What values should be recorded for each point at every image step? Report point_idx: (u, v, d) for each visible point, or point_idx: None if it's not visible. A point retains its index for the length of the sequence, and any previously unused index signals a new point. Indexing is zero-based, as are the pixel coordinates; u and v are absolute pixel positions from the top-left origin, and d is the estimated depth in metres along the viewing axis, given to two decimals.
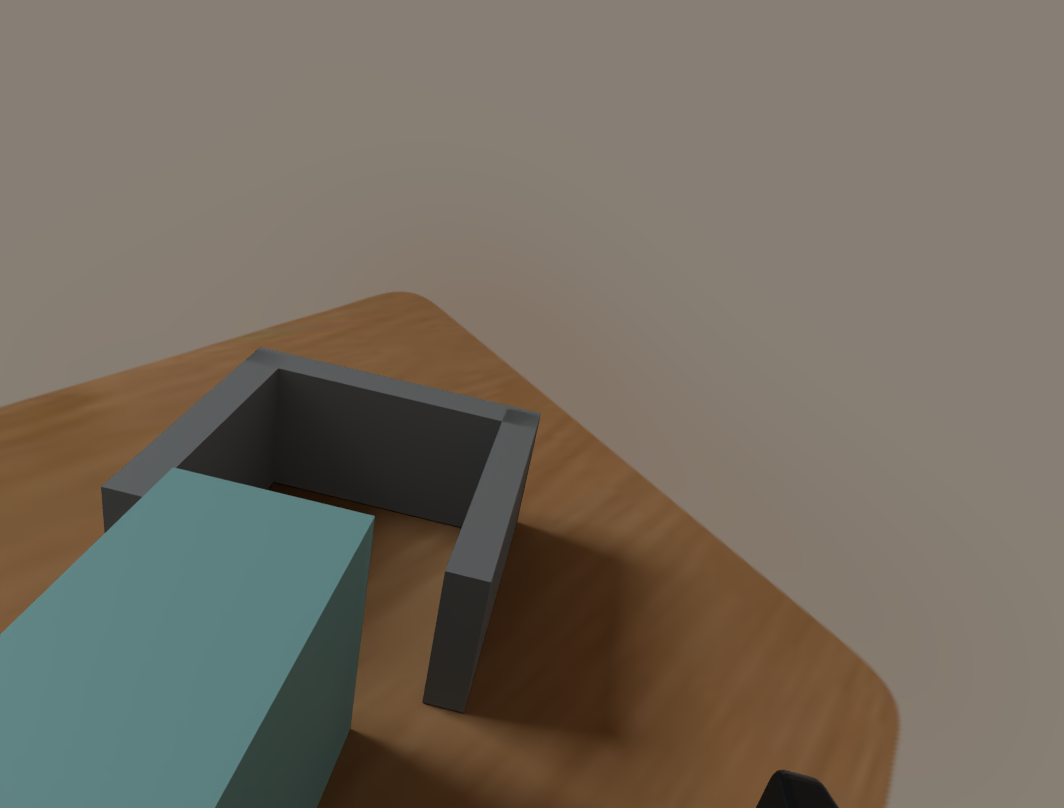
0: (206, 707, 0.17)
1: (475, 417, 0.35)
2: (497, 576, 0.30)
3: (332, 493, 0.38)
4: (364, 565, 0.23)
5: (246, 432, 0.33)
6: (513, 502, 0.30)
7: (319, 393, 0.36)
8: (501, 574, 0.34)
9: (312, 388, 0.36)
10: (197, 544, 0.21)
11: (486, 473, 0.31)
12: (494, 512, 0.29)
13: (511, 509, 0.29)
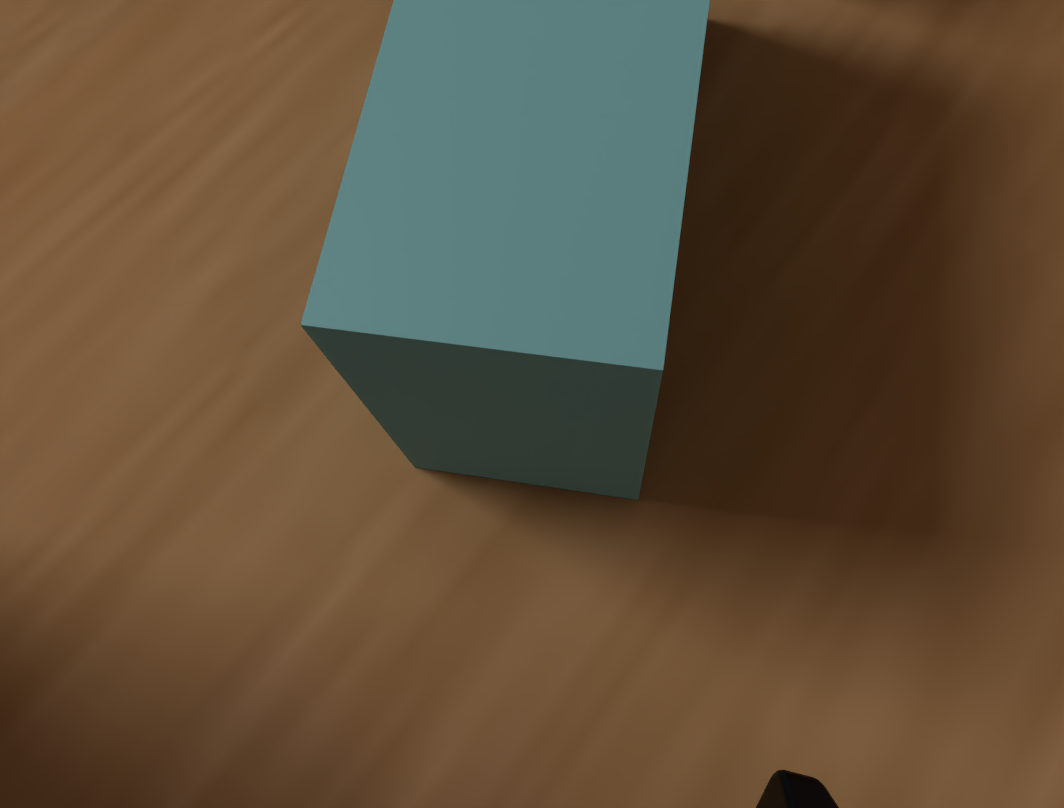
0: None
1: None
2: None
3: None
4: None
5: None
6: None
7: None
8: None
9: None
10: None
11: None
12: None
13: None
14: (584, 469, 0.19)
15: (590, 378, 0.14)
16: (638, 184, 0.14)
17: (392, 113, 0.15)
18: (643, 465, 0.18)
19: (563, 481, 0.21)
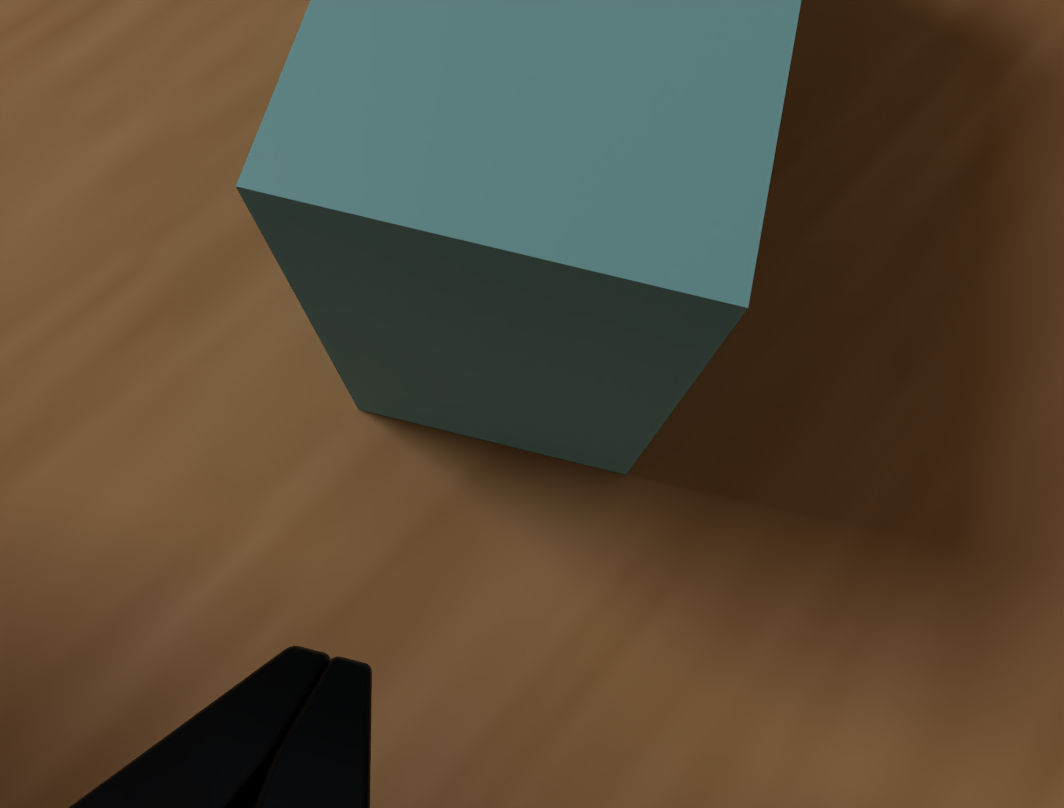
0: None
1: None
2: None
3: None
4: None
5: None
6: None
7: None
8: None
9: None
10: None
11: None
12: None
13: None
14: (574, 432, 0.16)
15: (637, 310, 0.10)
16: (726, 53, 0.10)
17: None
18: (653, 434, 0.14)
19: (541, 444, 0.17)
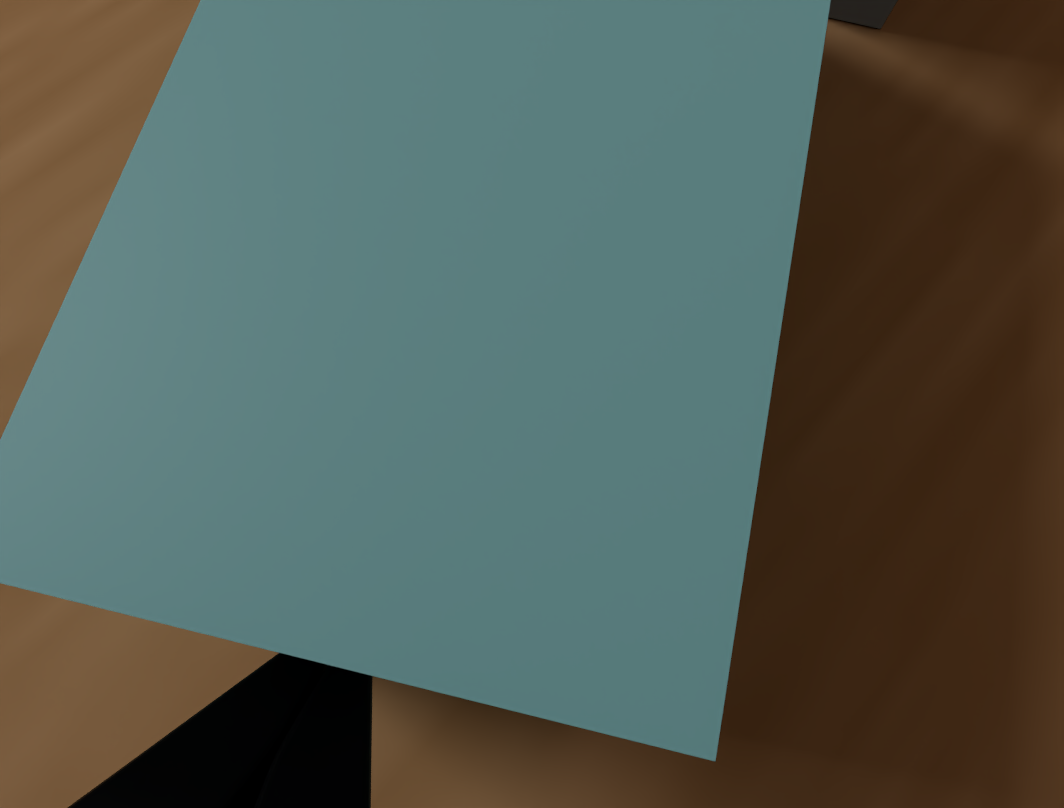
0: None
1: None
2: None
3: None
4: None
5: None
6: None
7: None
8: None
9: None
10: None
11: None
12: None
13: None
14: None
15: None
16: (685, 326, 0.07)
17: (213, 116, 0.08)
18: None
19: None
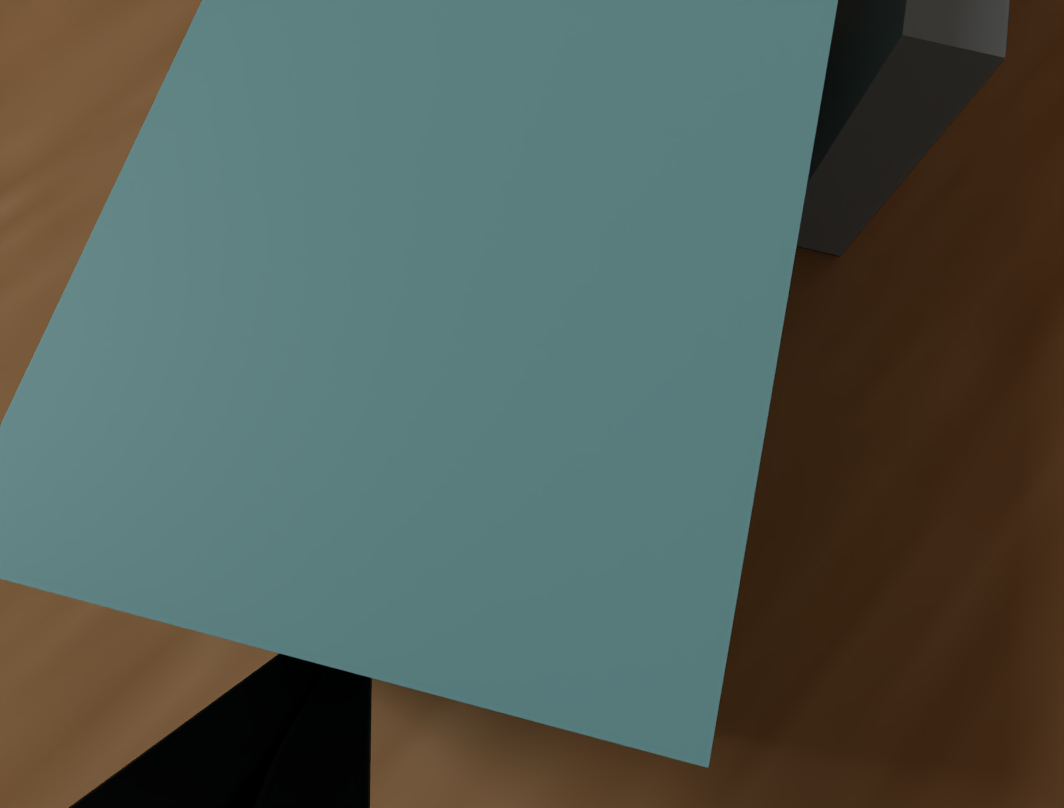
0: None
1: None
2: None
3: None
4: None
5: None
6: None
7: None
8: None
9: None
10: None
11: None
12: None
13: None
14: None
15: None
16: (685, 329, 0.07)
17: (215, 112, 0.07)
18: None
19: None
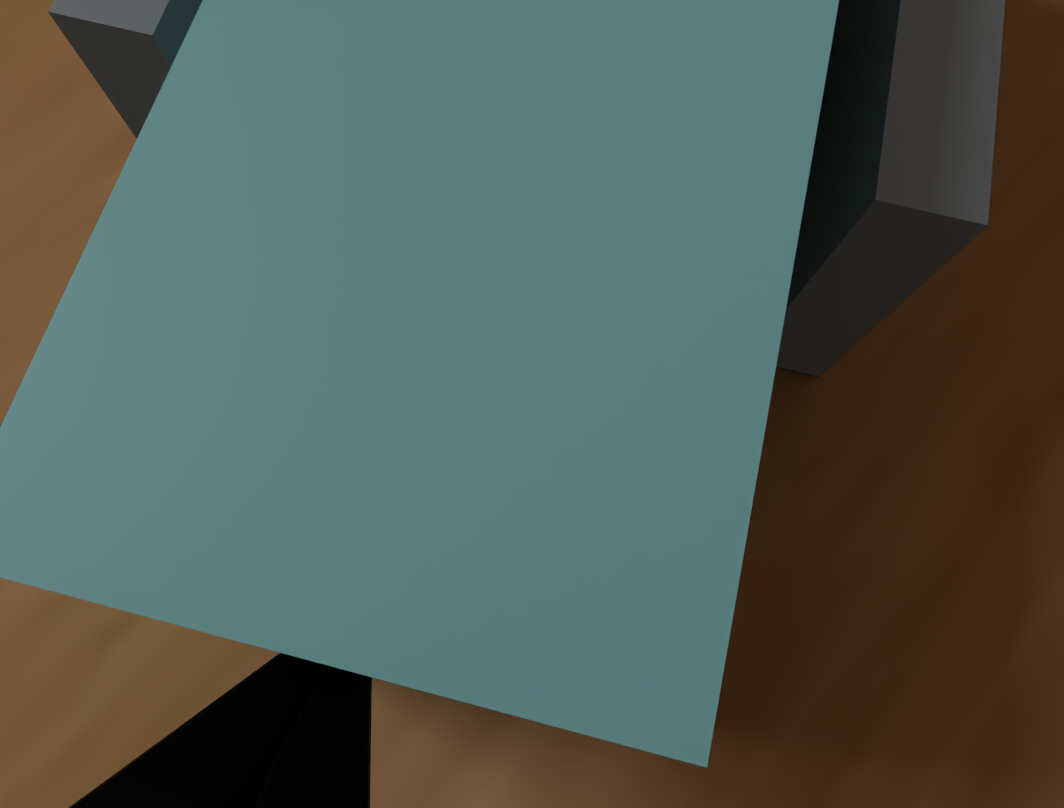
0: None
1: None
2: None
3: None
4: None
5: None
6: None
7: None
8: None
9: None
10: None
11: None
12: None
13: None
14: None
15: None
16: (686, 331, 0.07)
17: (217, 111, 0.07)
18: None
19: None
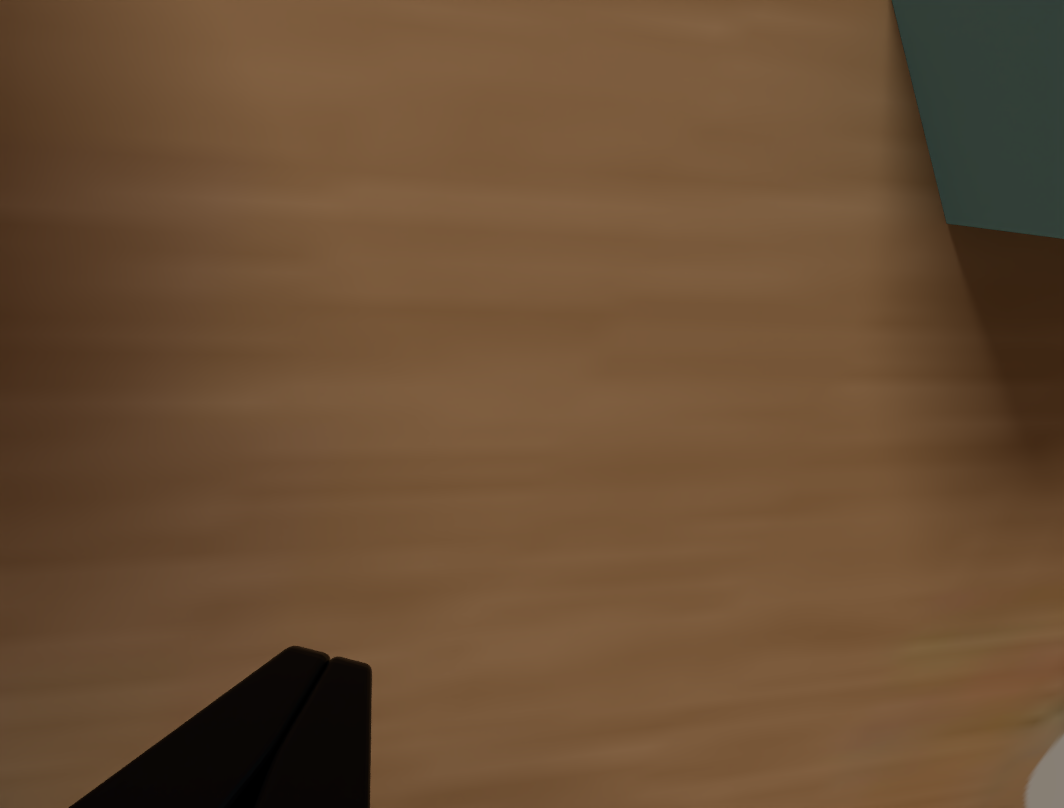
0: None
1: None
2: None
3: None
4: None
5: None
6: None
7: None
8: None
9: None
10: None
11: None
12: None
13: None
14: (998, 176, 0.19)
15: None
16: None
17: None
18: (1044, 235, 0.18)
19: (950, 152, 0.20)
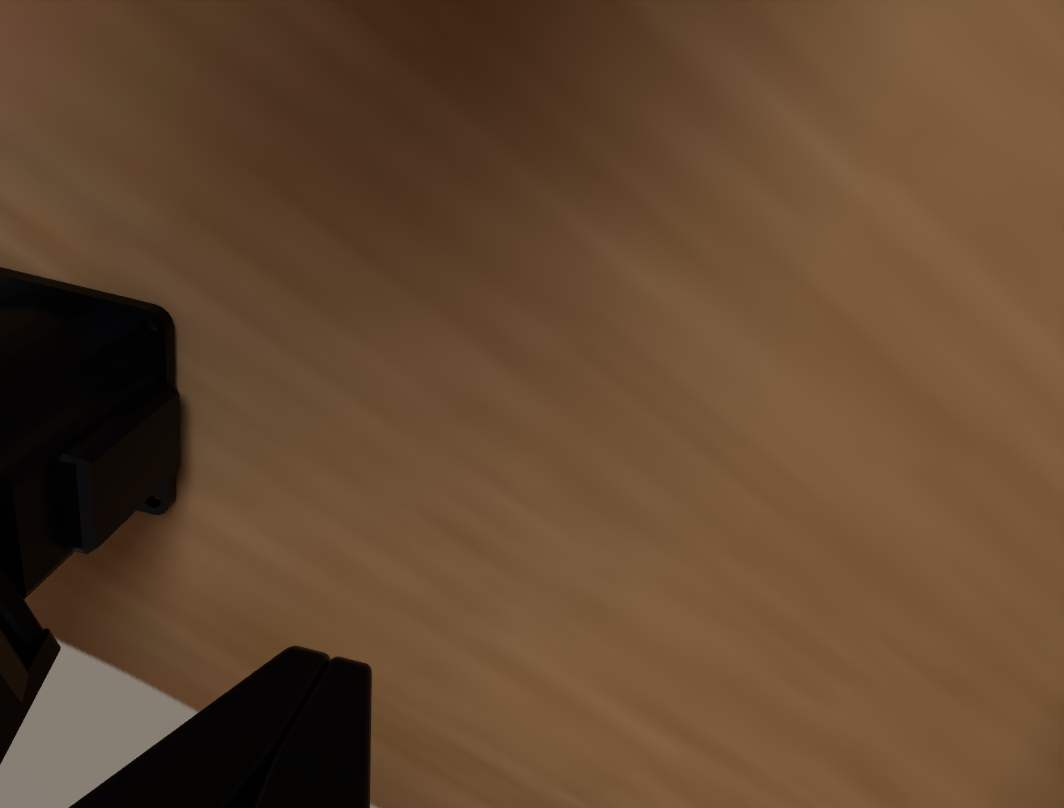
0: None
1: None
2: None
3: None
4: None
5: None
6: None
7: None
8: None
9: None
10: None
11: None
12: None
13: None
14: None
15: None
16: None
17: None
18: None
19: None
